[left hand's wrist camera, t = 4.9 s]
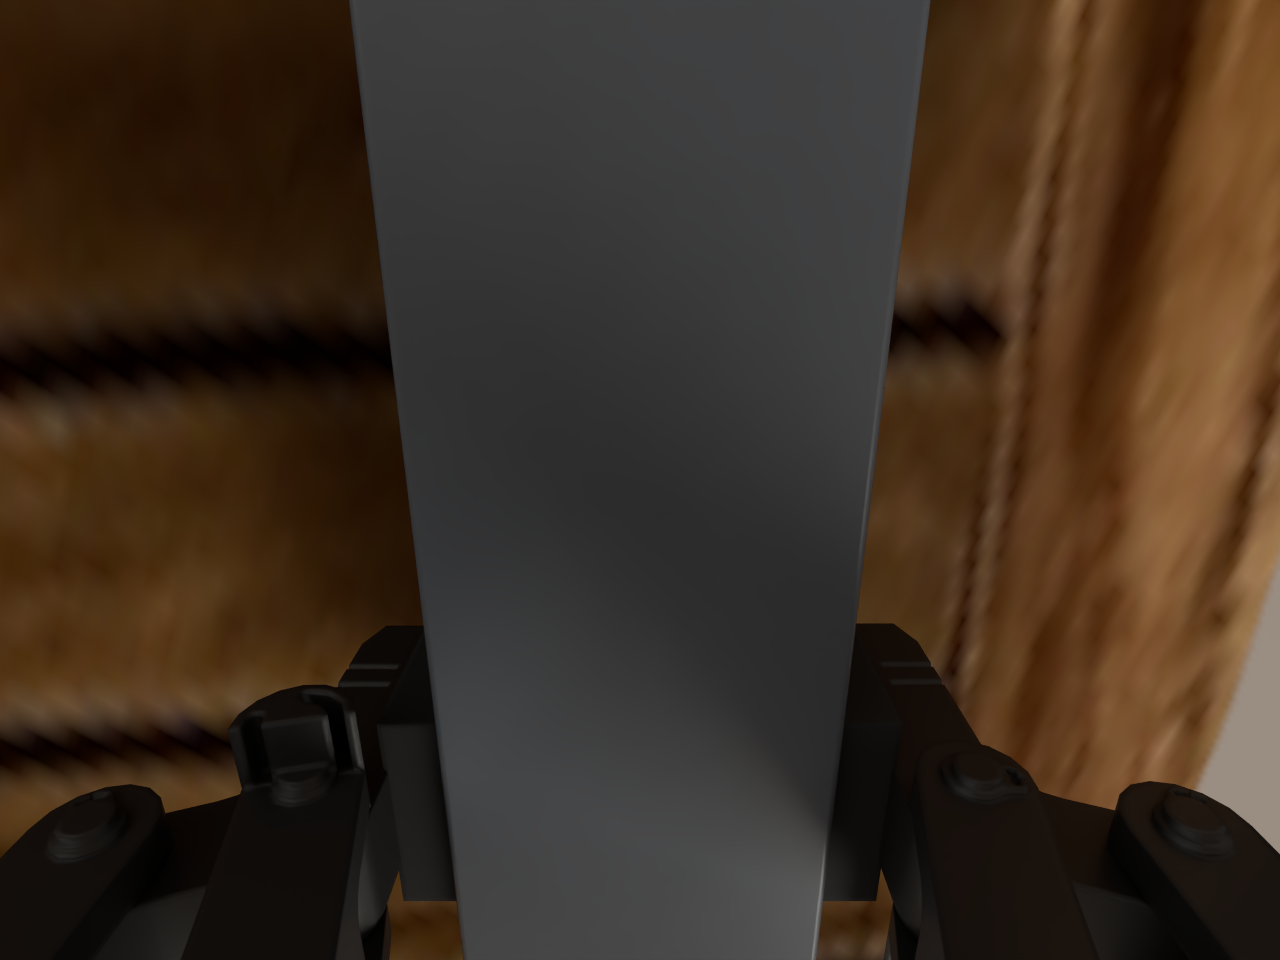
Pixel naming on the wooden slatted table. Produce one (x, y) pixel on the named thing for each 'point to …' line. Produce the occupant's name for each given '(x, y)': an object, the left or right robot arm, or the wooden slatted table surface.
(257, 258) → the wooden slatted table surface
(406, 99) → the post
